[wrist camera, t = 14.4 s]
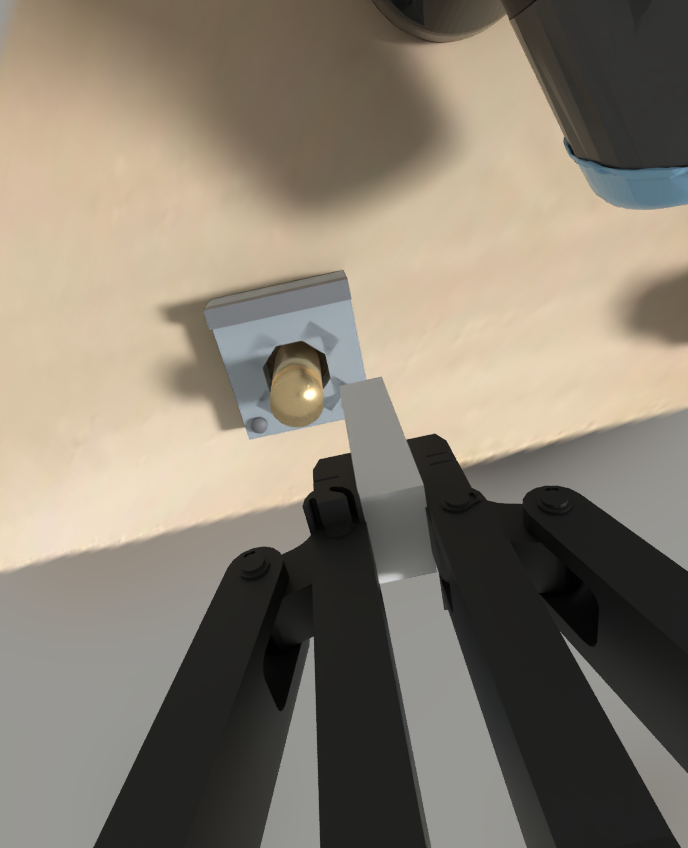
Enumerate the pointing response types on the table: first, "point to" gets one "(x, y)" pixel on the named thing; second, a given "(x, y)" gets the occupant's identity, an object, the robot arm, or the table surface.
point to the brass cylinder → (297, 385)
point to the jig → (286, 342)
